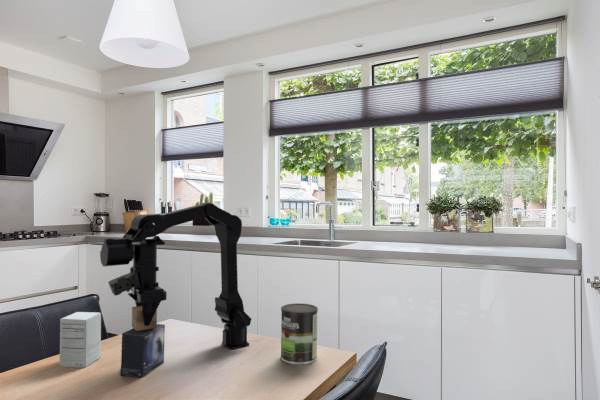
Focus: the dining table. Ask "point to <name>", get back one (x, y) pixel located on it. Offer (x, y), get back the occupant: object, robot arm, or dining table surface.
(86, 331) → the supplement box
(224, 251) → the robot arm
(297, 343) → the coffee can
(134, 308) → the walnut cube
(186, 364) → the dining table surface
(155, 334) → the small box
